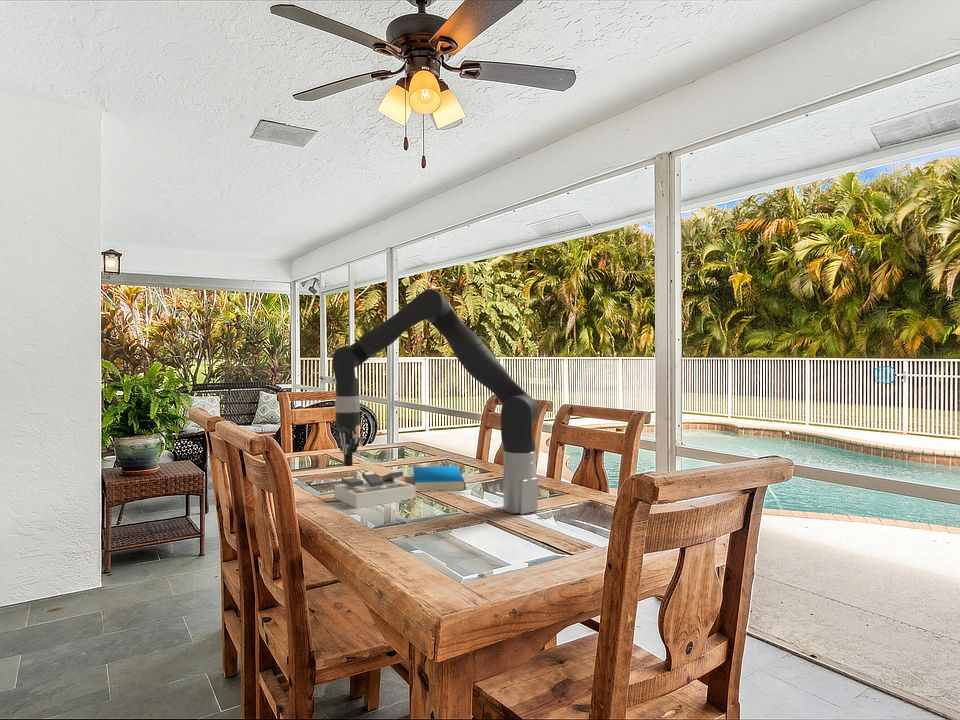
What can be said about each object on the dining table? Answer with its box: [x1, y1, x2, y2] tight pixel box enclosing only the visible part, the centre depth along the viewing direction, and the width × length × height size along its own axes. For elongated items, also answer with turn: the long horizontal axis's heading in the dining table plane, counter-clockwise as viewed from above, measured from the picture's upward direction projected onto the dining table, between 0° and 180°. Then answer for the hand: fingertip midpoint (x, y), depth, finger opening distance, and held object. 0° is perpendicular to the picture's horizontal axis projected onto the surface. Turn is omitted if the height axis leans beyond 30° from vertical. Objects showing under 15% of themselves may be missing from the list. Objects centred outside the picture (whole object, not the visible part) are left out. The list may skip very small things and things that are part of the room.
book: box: [413, 465, 466, 492], centre depth 210 cm, size 17×4×25 cm
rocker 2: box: [361, 470, 384, 487], centre depth 188 cm, size 7×4×2 cm, turn 37°
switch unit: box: [333, 478, 417, 509], centre depth 187 cm, size 16×20×4 cm
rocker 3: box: [381, 471, 404, 481], centre depth 192 cm, size 7×4×2 cm, turn 37°
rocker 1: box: [341, 476, 364, 487], centre depth 184 cm, size 7×4×2 cm, turn 37°
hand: (348, 465), depth 186 cm, fingers closed
